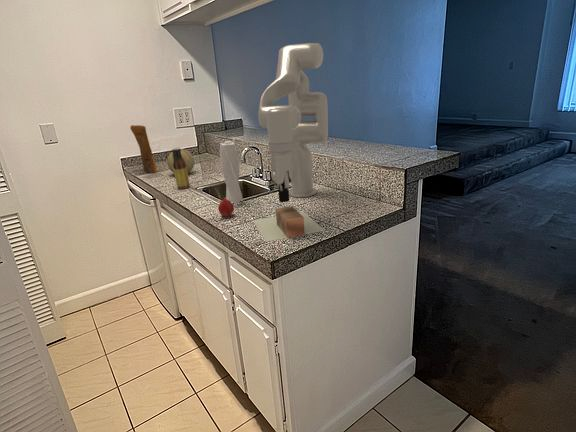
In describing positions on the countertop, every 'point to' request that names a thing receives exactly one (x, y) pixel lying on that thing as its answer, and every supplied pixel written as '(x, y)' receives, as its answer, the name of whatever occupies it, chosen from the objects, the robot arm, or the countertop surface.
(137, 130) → the brown tall curved piece
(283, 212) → the copper block
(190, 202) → the countertop surface
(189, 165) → the cantaloupe
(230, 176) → the skyscraper
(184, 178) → the sauce bottle
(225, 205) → the onion
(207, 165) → the countertop surface
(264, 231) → the mat
